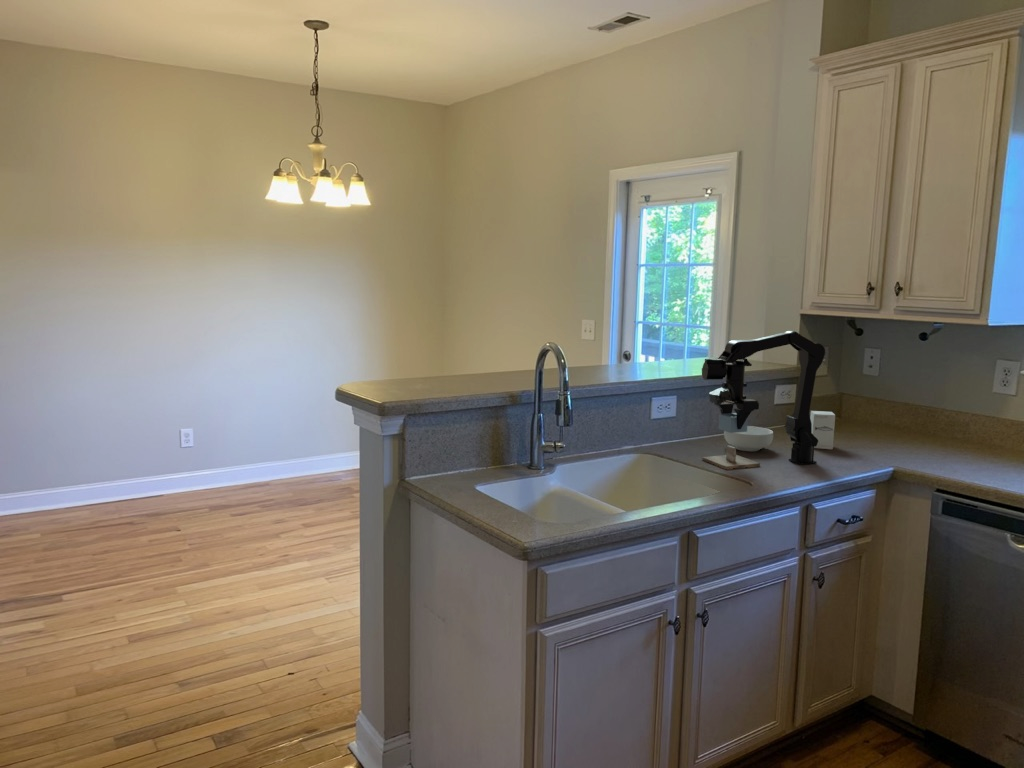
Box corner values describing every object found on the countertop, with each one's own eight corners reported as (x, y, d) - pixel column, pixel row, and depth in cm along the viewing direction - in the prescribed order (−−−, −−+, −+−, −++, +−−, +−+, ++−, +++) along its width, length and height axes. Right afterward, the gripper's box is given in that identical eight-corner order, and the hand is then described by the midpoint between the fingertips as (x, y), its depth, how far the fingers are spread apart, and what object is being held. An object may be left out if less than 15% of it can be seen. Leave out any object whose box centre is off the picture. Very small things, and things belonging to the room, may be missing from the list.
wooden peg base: (735, 457, 256) (735, 441, 255) (759, 466, 244) (760, 449, 243) (702, 460, 251) (702, 444, 251) (726, 469, 239) (726, 452, 238)
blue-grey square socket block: (718, 429, 248) (719, 414, 247) (734, 427, 250) (735, 412, 249) (730, 432, 242) (731, 417, 241) (747, 431, 244) (747, 416, 243)
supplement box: (811, 448, 269) (813, 413, 267) (808, 444, 276) (810, 410, 274) (833, 449, 267) (835, 414, 266) (829, 445, 275) (832, 411, 273)
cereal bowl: (775, 455, 258) (776, 435, 257) (725, 453, 262) (726, 433, 261) (769, 445, 275) (770, 425, 274) (721, 442, 278) (722, 423, 277)
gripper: (697, 377, 249) (695, 423, 252) (731, 384, 232) (729, 434, 234) (725, 375, 253) (723, 421, 255) (761, 383, 236) (759, 432, 238)
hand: (732, 427), depth 246 cm, fingers closed on blue-grey square socket block, 6 cm apart
